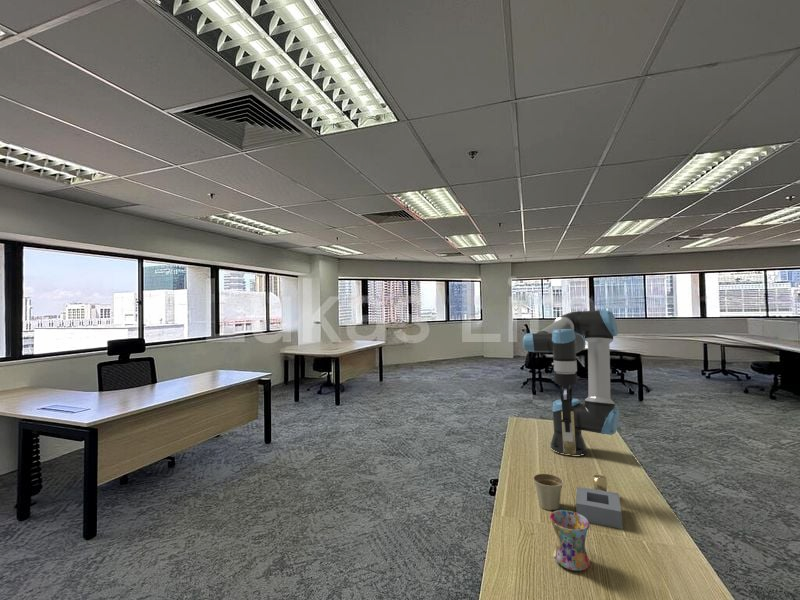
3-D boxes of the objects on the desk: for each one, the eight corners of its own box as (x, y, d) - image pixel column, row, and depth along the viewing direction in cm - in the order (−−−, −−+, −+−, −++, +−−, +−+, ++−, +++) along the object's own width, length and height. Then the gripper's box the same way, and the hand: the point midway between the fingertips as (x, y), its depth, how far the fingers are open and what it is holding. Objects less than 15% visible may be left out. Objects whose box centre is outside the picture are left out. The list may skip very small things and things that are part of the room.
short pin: (594, 491, 128) (593, 474, 129) (607, 493, 127) (606, 476, 127) (594, 496, 125) (593, 478, 125) (607, 498, 123) (606, 480, 123)
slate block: (577, 501, 122) (577, 486, 122) (619, 509, 116) (618, 493, 117) (576, 519, 111) (575, 503, 112) (622, 529, 106) (621, 511, 106)
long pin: (563, 449, 131) (561, 410, 131) (576, 451, 129) (573, 411, 129) (562, 453, 127) (560, 412, 128) (575, 455, 125) (573, 413, 126)
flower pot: (563, 500, 123) (562, 474, 123) (566, 515, 114) (564, 487, 114) (533, 497, 126) (532, 472, 126) (534, 511, 117) (533, 484, 117)
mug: (596, 577, 87) (593, 532, 88) (555, 572, 89) (552, 528, 90) (584, 546, 99) (581, 506, 99) (547, 542, 101) (545, 503, 101)
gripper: (556, 368, 139) (559, 430, 137) (551, 375, 124) (554, 445, 122) (578, 369, 135) (581, 433, 134) (575, 376, 120) (579, 448, 119)
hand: (568, 438), depth 128 cm, fingers closed on long pin, 4 cm apart
